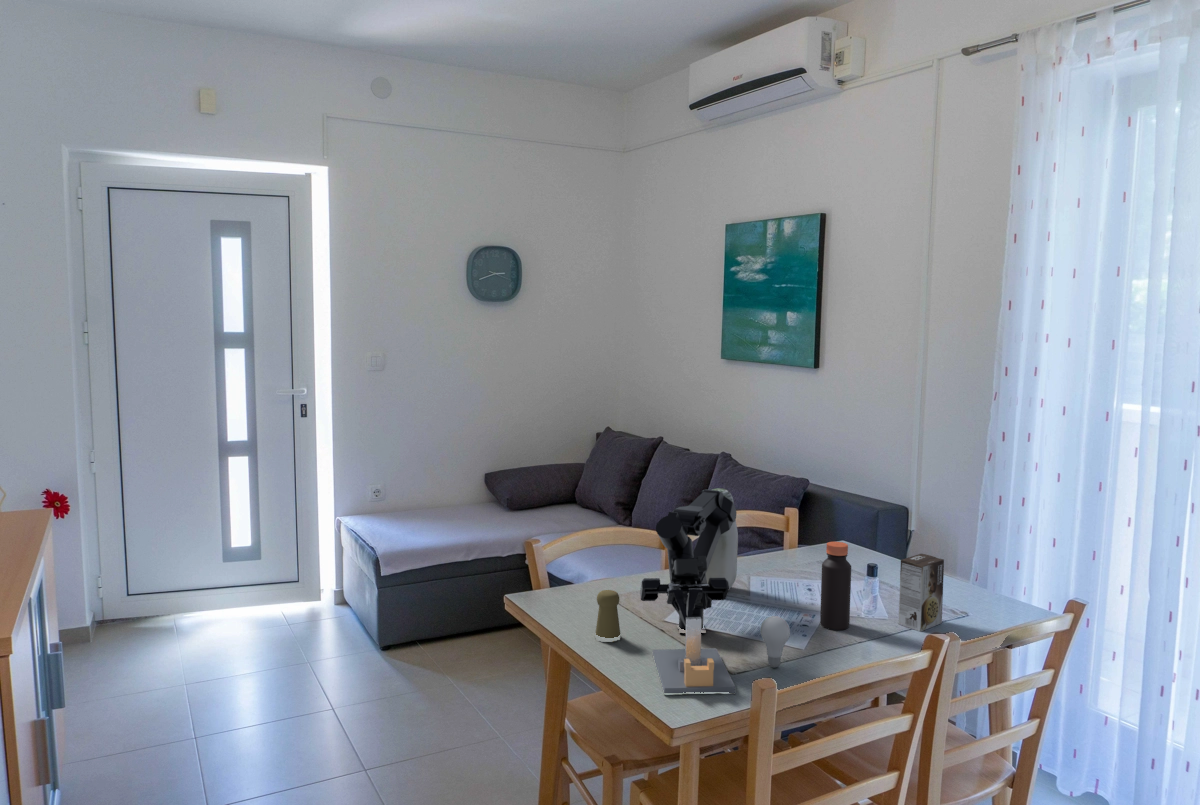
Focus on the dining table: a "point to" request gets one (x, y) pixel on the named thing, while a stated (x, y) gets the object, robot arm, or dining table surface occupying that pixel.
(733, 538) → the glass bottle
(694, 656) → the bar
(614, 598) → the cork
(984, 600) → the dining table surface
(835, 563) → the black water bottle
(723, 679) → the base plate
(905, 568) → the coffee box
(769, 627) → the lightbulb
